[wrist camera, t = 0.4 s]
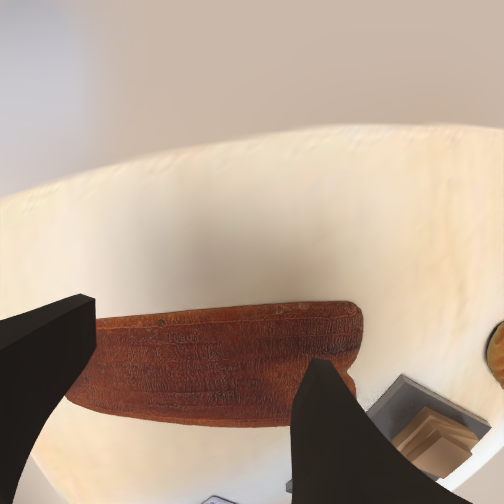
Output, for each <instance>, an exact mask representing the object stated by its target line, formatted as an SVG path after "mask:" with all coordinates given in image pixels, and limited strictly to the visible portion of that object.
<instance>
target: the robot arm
mask: <svg viewBox="0 0 504 504" xmlns="http://www.w3.org/2000/svg"><path fill="white" fill-rule="evenodd" d="M96 347H97V341H96V310H95V299H94V298H92V297H89V296H86V295H83V294H77V295H74V296H70V297H67V298H64V299H62V300H59V301H56V302H53V303H51V304H48V305H45V306H42V307H40V308H37V309H34V310H31V311H29V312H25V313H22V314H19V315H16V316H13V317H10V318H7V319H4V320H0V504H12V503H13V499H14V495H15V492H16V489H17V486H18V482H19V479H20V477H21V474H22V471H23V469H24V466H25V464H26V461H27V459H28V457H29V454H30V452H31V450H32V448H33V446H34V444H35V441H36V439H37V438H38V436H39V434H40V432H41V430H42V428H43V426H44V424H45V422H46V421H47V419H48V418H49V416H50V415H51V413H52V412H53V410H54V409H55V407H56V406H57V405H58V403H59V402H60V401H61V399H62V398H63V397H64V395H65V394H66V393H67V391H68V390H69V389H70V388H71V386H72V385H73V384H74V382H75V381H76V380H77V378H78V377H79V376H80V374H81V373H82V372H83V370H84V369H85V367H86V365H87V364H88V362H89V360H90V358H91V357H92V355H93V353H94V351H95V349H96ZM290 436H291V460H292V503H291V504H473V503H471V502H469V501H467V500H465V499H463V498H461V497H459V496H457V495H455V494H454V493H452V492H450V491H449V490H447V489H446V488H444V487H443V486H441V485H440V484H438V483H437V482H435V481H434V480H432V479H431V478H430V477H428V476H427V475H426V474H424V473H423V472H422V471H421V470H419V469H418V468H417V467H416V466H415V465H414V464H412V463H411V462H410V461H409V460H408V459H407V458H406V457H405V456H403V455H402V454H401V453H400V452H399V451H398V450H397V449H396V448H395V447H394V446H393V445H392V443H391V442H390V441H389V440H388V439H387V438H386V437H385V436H384V435H383V434H382V433H381V431H380V430H379V429H378V428H377V427H376V425H375V424H374V423H373V422H372V420H371V419H370V418H369V417H368V415H367V414H366V413H365V411H364V410H363V409H362V407H361V406H360V404H359V403H358V402H357V400H356V399H355V397H354V396H353V394H352V393H351V391H350V390H349V388H348V387H347V385H346V384H345V382H344V381H343V379H342V378H341V376H340V375H339V373H338V371H337V370H336V368H335V367H334V365H333V364H332V362H331V361H330V360H324V359H319V358H314V357H312V359H311V361H310V363H309V366H308V368H307V370H306V372H305V375H304V377H303V379H302V382H301V384H300V386H299V388H298V390H297V393H296V395H295V397H294V399H293V402H292V412H291V424H290ZM203 504H233V503H230V502H227V501H225V500H222V499H220V498H217V497H211V498H210V499H208V500H207V501H206V502H205V503H203Z"/></svg>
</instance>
